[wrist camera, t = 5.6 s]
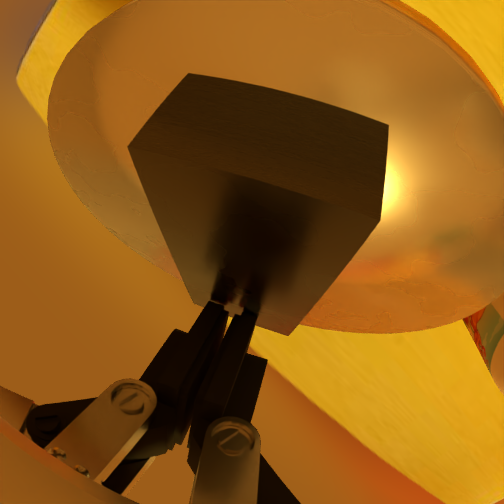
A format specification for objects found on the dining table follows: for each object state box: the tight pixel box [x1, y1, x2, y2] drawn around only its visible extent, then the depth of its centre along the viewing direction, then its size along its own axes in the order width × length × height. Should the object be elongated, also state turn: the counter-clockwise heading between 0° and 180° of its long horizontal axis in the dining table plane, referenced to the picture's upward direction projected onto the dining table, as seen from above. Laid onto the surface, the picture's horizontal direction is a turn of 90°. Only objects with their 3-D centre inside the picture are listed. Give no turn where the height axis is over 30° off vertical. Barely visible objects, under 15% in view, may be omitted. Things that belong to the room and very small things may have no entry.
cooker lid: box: [47, 0, 504, 336], centre depth 10 cm, size 17×16×4 cm
